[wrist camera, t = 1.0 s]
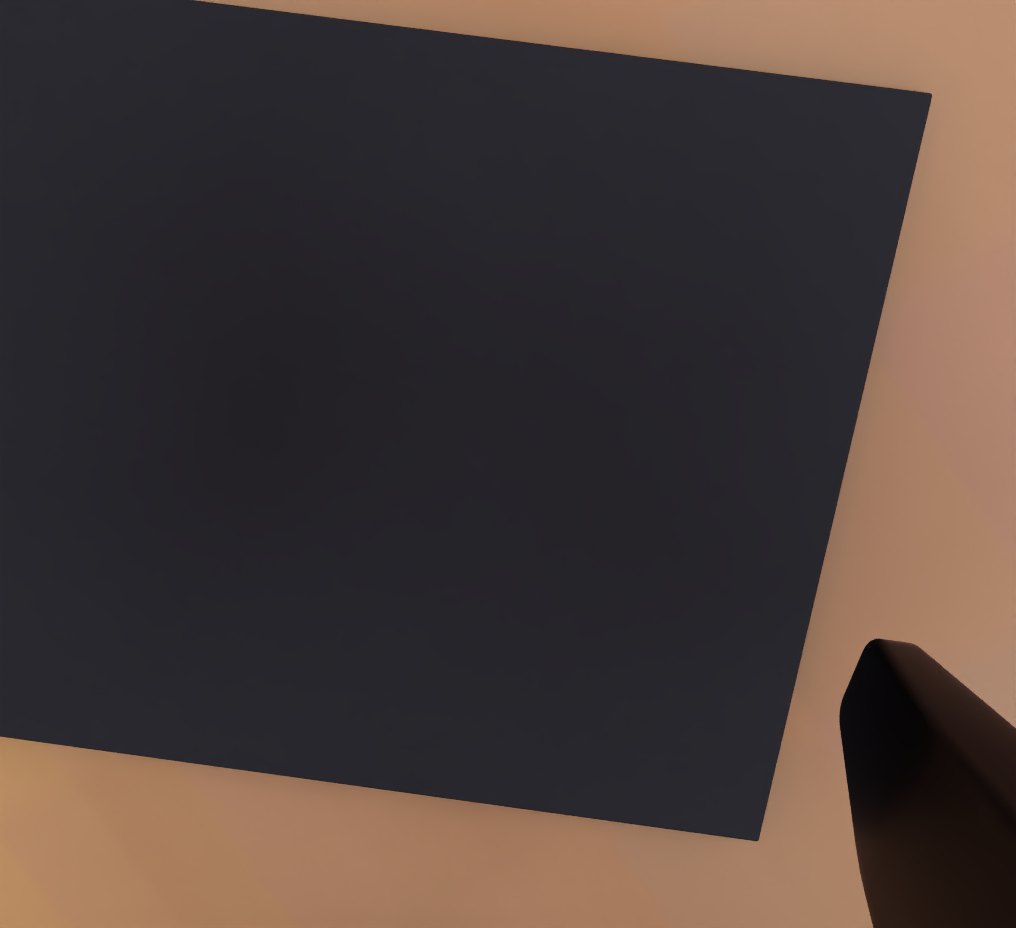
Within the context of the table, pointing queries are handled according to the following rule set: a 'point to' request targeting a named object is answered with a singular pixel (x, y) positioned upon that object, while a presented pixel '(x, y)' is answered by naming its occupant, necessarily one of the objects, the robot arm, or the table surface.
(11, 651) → the mat
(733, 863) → the table surface
